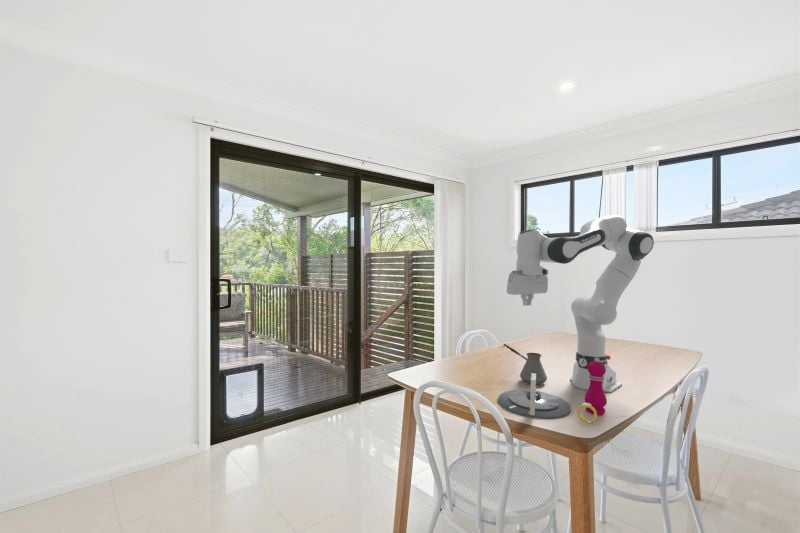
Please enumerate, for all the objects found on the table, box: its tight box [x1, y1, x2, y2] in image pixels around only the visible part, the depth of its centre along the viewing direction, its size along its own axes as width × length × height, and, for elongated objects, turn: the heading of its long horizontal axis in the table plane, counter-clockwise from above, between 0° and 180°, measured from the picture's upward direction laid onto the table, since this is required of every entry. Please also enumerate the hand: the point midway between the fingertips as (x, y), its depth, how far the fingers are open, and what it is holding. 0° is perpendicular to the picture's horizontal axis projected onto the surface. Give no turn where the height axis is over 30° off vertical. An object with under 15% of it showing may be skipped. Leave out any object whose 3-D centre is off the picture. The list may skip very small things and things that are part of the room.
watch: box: [577, 402, 598, 423], centre depth 131 cm, size 6×3×6 cm, turn 46°
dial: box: [509, 373, 559, 415], centre depth 141 cm, size 26×18×13 cm
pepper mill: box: [584, 358, 608, 416], centre depth 139 cm, size 7×7×20 cm
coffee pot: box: [501, 343, 548, 387], centre depth 174 cm, size 21×12×15 cm, turn 45°
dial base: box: [498, 389, 572, 420], centre depth 145 cm, size 26×26×1 cm
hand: (527, 305), depth 151 cm, fingers closed
